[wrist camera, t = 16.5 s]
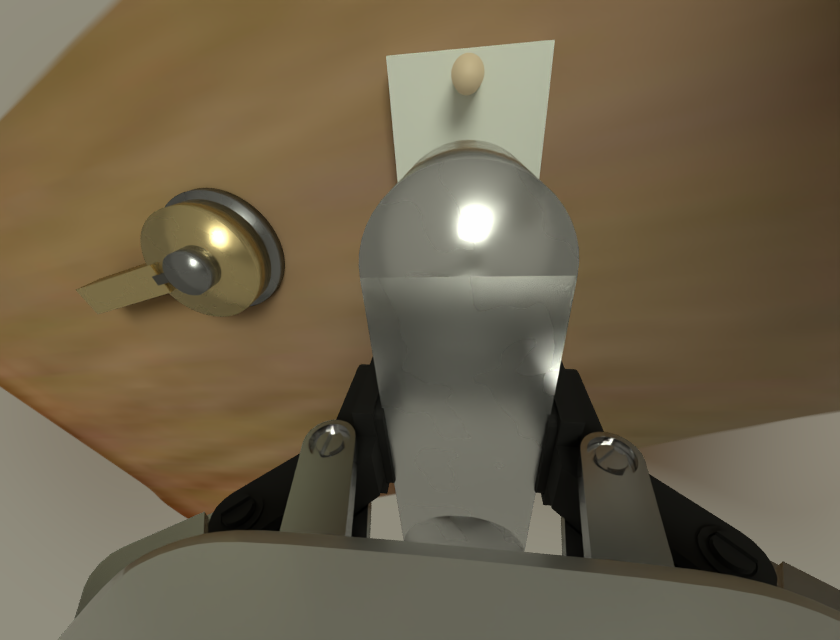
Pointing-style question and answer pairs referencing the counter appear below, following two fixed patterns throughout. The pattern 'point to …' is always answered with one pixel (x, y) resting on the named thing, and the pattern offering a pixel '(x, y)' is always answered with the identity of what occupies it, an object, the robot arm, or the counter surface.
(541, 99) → the peg rest
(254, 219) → the round gray base
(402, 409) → the steel bar
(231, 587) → the robot arm
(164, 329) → the counter surface
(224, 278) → the gold handled disc
